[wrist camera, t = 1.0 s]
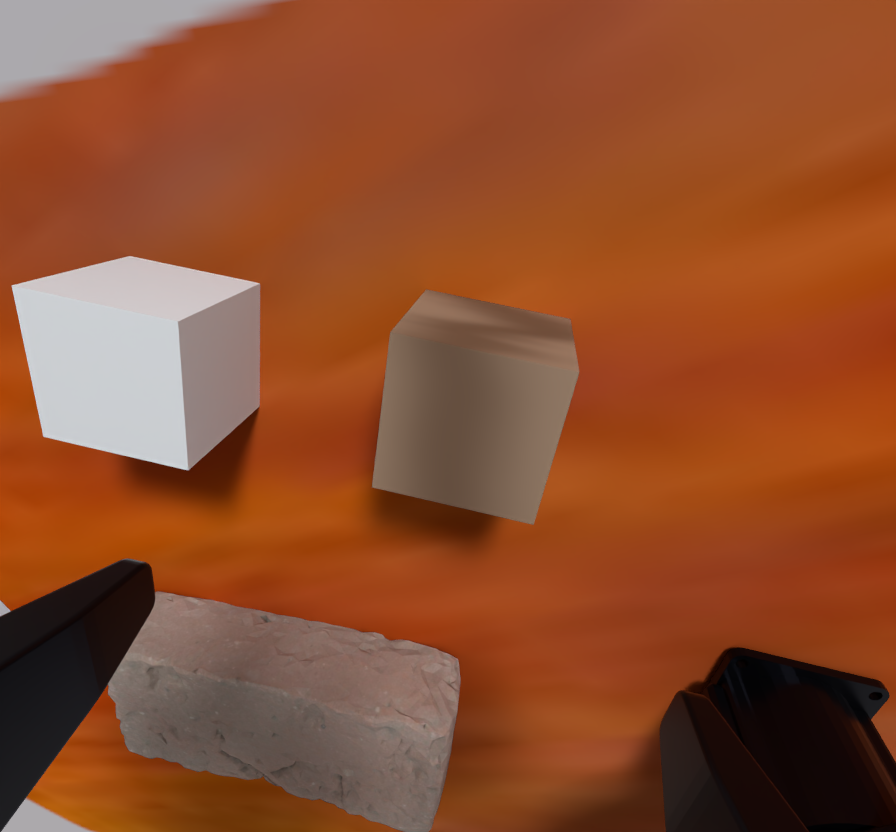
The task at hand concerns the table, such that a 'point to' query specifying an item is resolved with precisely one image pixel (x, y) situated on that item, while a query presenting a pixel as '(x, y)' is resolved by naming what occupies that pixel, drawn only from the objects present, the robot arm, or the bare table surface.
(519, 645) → the table surface
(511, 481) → the walnut cube
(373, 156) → the table surface
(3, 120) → the table surface
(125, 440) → the white cube
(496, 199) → the table surface
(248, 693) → the brick
